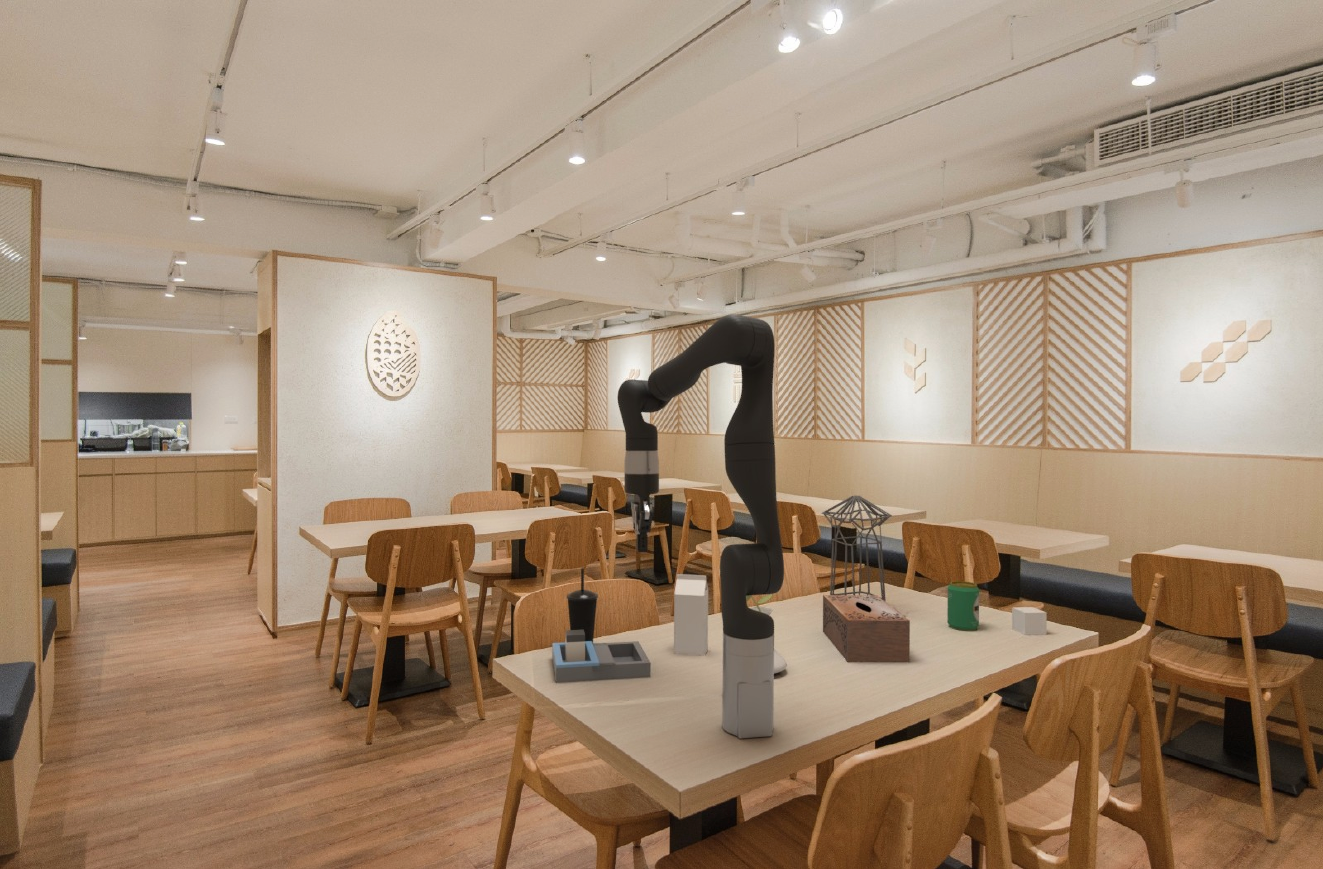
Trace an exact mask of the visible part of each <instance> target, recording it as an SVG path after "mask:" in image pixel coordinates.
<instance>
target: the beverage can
mask: <svg viewBox="0 0 1323 869" xmlns="http://www.w3.org/2000/svg"><path fill="white" fill-rule="evenodd" d="M946 618H947V619H946V621H947V622H946V623H947V624H948V627H949V628H951V629H953V630H957V631H963V632H973V631H977V630H978V628H979V626H980V588H979V587H978V584H977V583H975V582H970V581H966V580H965V581H963V580H962V581H961V580H955V581H950V583H949V584H948V586H947V617H946Z"/></svg>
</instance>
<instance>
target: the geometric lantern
mask: <svg viewBox="0 0 1323 869" xmlns="http://www.w3.org/2000/svg"><path fill="white" fill-rule="evenodd" d="M856 503H857V508H858V509H856V510H855V506H856ZM843 504H844V505H843ZM840 506H841V507H840ZM838 507H840V508H839V509H838V510H837V511H833V510H834V509H836V508H838ZM861 507H862V508H863V509H862V508H861ZM846 510H847V511H846ZM863 511H864V512H865V513H866V514H867V516H868V518H863V514H862V512H863ZM854 513H856V514H855V515H854V516H853V514H854ZM821 514H822V515H823V516H824V517H825V518H826V519H827V521H828V522H829V524H830V526H831V527H832V528H834V538H832V539H831V541H832V542H831V560H830V563H831V567H830V587H829V588H830V591H829V595H857V594H858V595H861V594H863V595H875V594H874V593H871V591H870V590H871V588H870V587H871V586H870V566H869V563H870V562H869V547H868V545H876V549H877V560H878V561H877V562H878V573H879V584H880V594H881V595H880V596H881V597H880V596H879V597H880V598H881V599H882V600H883V601H885V602H886V601H887V600H886V586H885V571H884V570H885V569H884V556H883V544H882V543H883V540H882V528H881V526H882V525H883V524H884V523H885V522H886V521H887V520H889V518H890V517H892V516H893V515H892V514H890V513H888V512H887V511H886V510H883V509H882V508H881V507H880V506H877V505H875V504H874V503H872V502H871V501H869V500H867V499H866V498H864V497H862V496H861V495H851V496H849V497H847V498H846V499H845V500H842V501H841V502H839V503H837V504H835V505H833V506H832V507H830V508H828V509H826V510H824V511H823V512H821ZM843 515H844V517H843ZM848 515H849V518H848ZM872 515H873V516H875V518H873V516H872ZM828 516H829V517H830V518H829V517H828ZM858 516H859V517H858ZM833 520H834V523H833ZM878 520H879V521H878ZM837 521H838V522H839V523H838V524H837ZM856 521H861V525H859V523H857V522H856ZM869 521H870V525H871V526H870V527H864V522H869ZM843 523H845V524H852V526H853V527H854V528H855V530H857V532H858V535H856V536H847V537H846V536H844V535H843V533H842V531H841V526H842V524H843ZM877 526H878V527H879V537H880V540H879V539H878V537H877V535H876V532H875V527H877ZM857 527H858V528H857ZM836 529H837V530H836ZM859 529H860V530H861V531H860V530H859ZM867 530H868V531H867ZM864 531H867V533H866V535H865V536H864V535H862V533H863V532H864ZM871 531H872V534H873V536H874V538H875V539H874V538H871V537H869V536H870V533H871ZM839 535H840V536H841V537H838V536H839ZM846 539H854V540H853V542H852V544H851V543H847V541H846ZM858 539H859V543H856V541H857V540H858ZM863 539H865V542H863ZM839 540H843V541H839ZM868 540H872V541H875V542H868ZM838 543H839V544H842V545H845V546H844V547H845V548H844V549H845V553H844V554H845V556H844V561H845V562H844V592H839V593H835V586H836V585H835V584H836V582H835V580H836V566H837V565H836V564H837V554H838V553H837V552H838ZM854 546H859V577H858V578H859V579H858V580H859V583H858V584H859V585H858V590H857V591H856V585H855V584H856V582H855V581H856V580H855V562H854ZM863 546H865V556H866V578H867V592H866V591H862V563H863V562H862V560H863V559H862V554H863V553H862V552H863ZM848 547H850V551H851V555H850V556H851V571H852V572H851V574H852V576H851V577H852V591H850V592H847V588H848V587H847V582H848V581H847V580H848V579H847V578H848V577H847V576H848V573H847V572H848Z"/></svg>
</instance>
